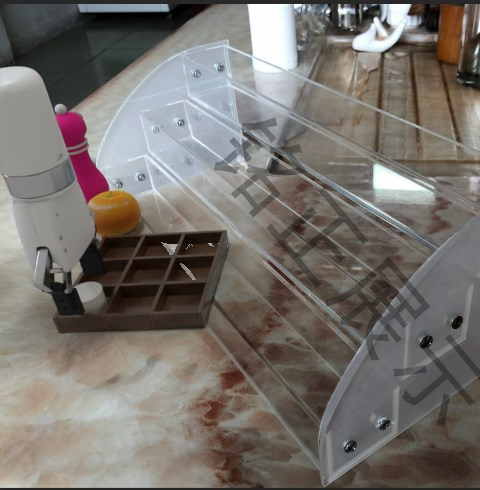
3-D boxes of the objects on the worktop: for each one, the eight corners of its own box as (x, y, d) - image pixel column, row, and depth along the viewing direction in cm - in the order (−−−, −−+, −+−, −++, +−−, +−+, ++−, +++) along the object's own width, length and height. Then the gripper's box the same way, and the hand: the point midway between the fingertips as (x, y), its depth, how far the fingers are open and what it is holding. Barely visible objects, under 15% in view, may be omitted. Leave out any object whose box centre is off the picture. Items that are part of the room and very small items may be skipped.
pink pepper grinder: (99, 224, 102) (62, 113, 91) (65, 219, 105) (25, 111, 94) (123, 203, 108) (91, 97, 97) (90, 199, 110) (55, 95, 99)
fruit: (149, 194, 103) (114, 170, 97) (150, 233, 98) (113, 210, 92) (113, 215, 105) (76, 193, 99) (112, 254, 100) (74, 233, 94)
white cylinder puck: (68, 322, 80) (61, 303, 78) (81, 300, 84) (74, 282, 82) (102, 320, 79) (95, 302, 78) (113, 299, 83) (106, 280, 81)
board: (58, 332, 79) (52, 318, 78) (108, 249, 96) (103, 235, 94) (204, 327, 78) (200, 312, 76) (229, 243, 94) (226, 229, 93)
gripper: (41, 147, 77) (82, 257, 87) (-29, 216, 63) (29, 338, 73) (97, 143, 77) (131, 254, 87) (39, 212, 63) (88, 336, 72)
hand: (84, 292), depth 80 cm, fingers open, 7 cm apart
